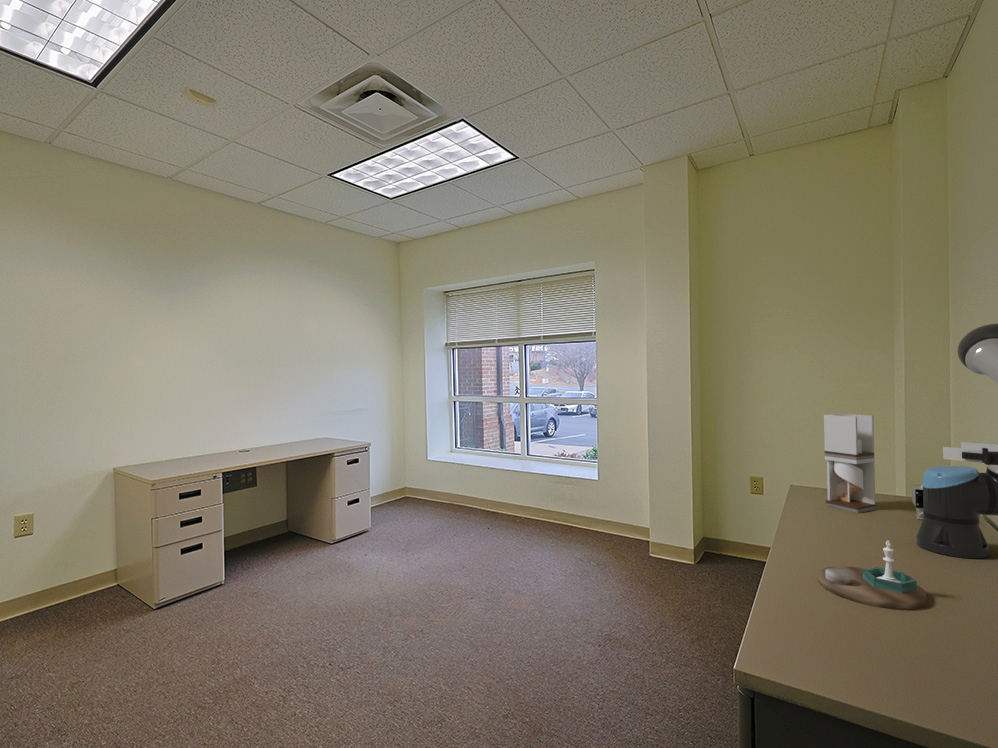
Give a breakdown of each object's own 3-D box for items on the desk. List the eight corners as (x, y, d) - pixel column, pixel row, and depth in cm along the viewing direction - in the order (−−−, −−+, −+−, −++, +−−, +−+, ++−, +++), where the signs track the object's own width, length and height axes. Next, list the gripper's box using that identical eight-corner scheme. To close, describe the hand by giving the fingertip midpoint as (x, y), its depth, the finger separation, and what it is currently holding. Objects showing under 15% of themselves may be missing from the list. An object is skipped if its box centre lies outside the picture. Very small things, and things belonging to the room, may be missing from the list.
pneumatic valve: (916, 522, 164) (915, 486, 164) (912, 514, 174) (911, 480, 174) (938, 525, 161) (937, 488, 161) (932, 516, 171) (931, 482, 171)
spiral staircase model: (825, 505, 187) (823, 414, 187) (843, 502, 191) (841, 413, 191) (857, 513, 176) (855, 416, 177) (875, 509, 180) (873, 415, 181)
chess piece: (897, 581, 114) (896, 538, 114) (906, 589, 109) (905, 545, 109) (872, 578, 116) (871, 536, 116) (880, 586, 111) (879, 543, 111)
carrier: (892, 575, 121) (892, 561, 121) (950, 613, 101) (949, 596, 101) (804, 569, 125) (803, 556, 125) (843, 605, 105) (842, 589, 105)
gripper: (1084, 489, 90) (935, 472, 108) (1103, 473, 104) (968, 460, 122) (1083, 449, 90) (935, 438, 108) (1102, 438, 104) (967, 430, 122)
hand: (952, 450), depth 115 cm, fingers open, 13 cm apart
